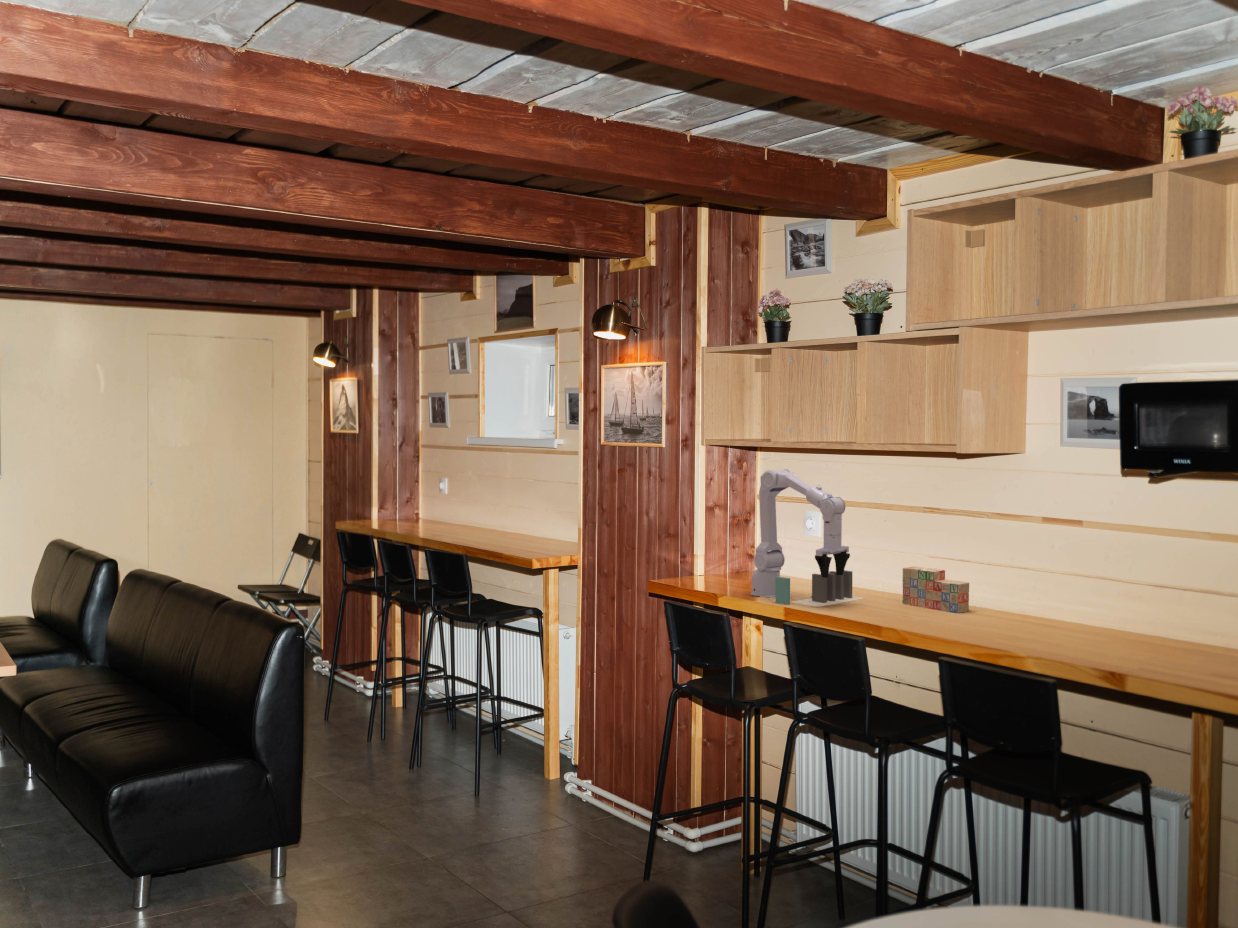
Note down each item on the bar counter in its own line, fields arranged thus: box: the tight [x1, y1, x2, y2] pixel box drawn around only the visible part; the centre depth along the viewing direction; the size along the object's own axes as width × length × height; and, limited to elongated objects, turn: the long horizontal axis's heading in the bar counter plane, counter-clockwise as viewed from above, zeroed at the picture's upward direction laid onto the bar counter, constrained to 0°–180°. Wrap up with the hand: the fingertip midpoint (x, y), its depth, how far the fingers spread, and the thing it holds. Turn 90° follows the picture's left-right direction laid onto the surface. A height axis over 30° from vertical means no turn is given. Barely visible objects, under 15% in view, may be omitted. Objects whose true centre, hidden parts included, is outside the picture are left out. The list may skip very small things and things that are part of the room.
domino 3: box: [827, 573, 836, 601], centre depth 357 cm, size 2×5×9 cm, turn 40°
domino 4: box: [829, 570, 844, 600], centre depth 359 cm, size 2×5×9 cm, turn 40°
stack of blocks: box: [902, 565, 970, 614], centre depth 344 cm, size 21×6×12 cm, turn 38°
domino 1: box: [774, 576, 791, 606], centre depth 351 cm, size 2×5×9 cm, turn 40°
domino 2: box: [811, 573, 827, 603], centre depth 354 cm, size 2×5×9 cm, turn 40°
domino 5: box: [843, 569, 853, 598], centre depth 362 cm, size 2×5×9 cm, turn 40°
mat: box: [790, 595, 865, 608], centre depth 357 cm, size 12×25×1 cm, turn 130°
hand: (832, 576), depth 346 cm, fingers open, 7 cm apart
